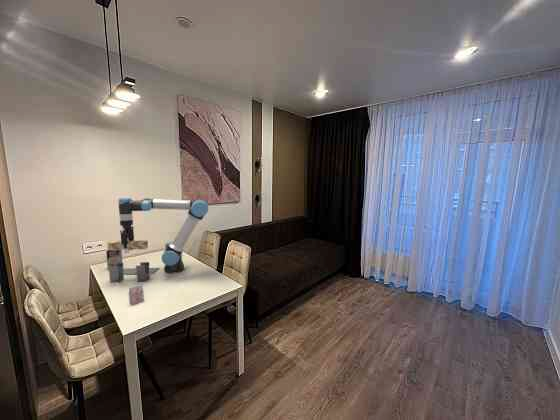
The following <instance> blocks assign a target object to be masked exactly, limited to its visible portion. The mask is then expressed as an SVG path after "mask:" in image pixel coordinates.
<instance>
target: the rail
mask: <svg viewBox="0 0 560 420" xmlns="http://www.w3.org/2000/svg"><path fill="white" fill-rule="evenodd" d="M127 244H128V246H129V251H132V250H131V249H133V250H147V248H149V243H148V240H146V239H145V240H134V241H129V240H128V243H127ZM107 250H123V251H124V244H121V240H111V241H109V242H107Z"/></svg>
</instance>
